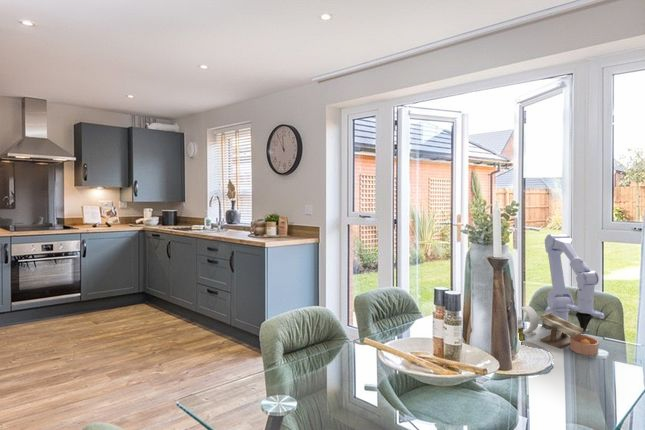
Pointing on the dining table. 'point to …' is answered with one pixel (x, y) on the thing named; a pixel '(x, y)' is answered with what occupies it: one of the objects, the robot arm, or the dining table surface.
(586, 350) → the cup
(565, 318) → the robot arm
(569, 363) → the dining table surface
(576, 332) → the beige curved piece
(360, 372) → the dining table surface
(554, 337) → the lever stand
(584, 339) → the ball
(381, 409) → the dining table surface
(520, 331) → the pill bottle
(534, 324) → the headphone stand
